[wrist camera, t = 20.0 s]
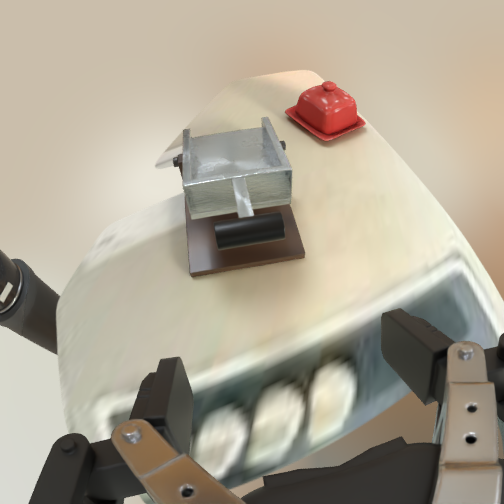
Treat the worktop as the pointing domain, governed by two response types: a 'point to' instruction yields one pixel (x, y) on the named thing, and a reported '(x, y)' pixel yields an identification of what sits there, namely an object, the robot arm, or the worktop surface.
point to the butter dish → (326, 111)
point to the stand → (214, 261)
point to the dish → (238, 183)
